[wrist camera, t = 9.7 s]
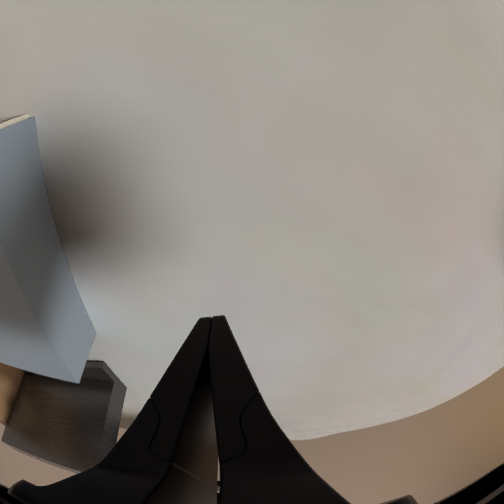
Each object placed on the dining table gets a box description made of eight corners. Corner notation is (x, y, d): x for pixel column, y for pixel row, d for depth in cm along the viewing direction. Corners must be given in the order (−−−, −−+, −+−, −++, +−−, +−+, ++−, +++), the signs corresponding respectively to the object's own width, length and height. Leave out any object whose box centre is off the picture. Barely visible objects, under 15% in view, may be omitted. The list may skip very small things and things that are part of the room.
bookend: (126, 387, 21) (111, 481, 13) (37, 379, 21) (15, 449, 14) (103, 361, 19) (78, 467, 11) (15, 356, 19) (-14, 430, 12)
